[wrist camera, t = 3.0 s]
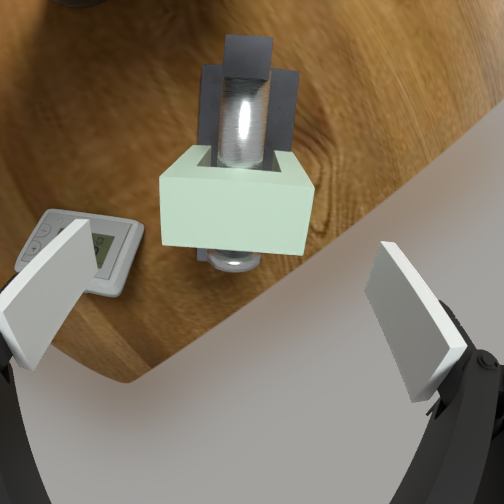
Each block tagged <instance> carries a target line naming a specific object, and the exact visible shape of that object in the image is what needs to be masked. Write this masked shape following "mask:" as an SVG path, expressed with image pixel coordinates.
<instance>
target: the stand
mask: <svg viewBox="0 0 504 504" xmlns="http://www.w3.org/2000/svg"><path fill="white" fill-rule="evenodd" d="M272 45H273V38H272V37H262V36H249V35H229V34H226V38H225V49H224V60H223V65H211V64H203V67H202V80H201V94H200V111H199V130H198V145H205V146H211V166H210V167H220V168H235V169H249V170H261V171H272V165H273V156H274V150H275V151H285V152H291V144H292V135H293V127H294V118H295V109H296V100H297V91H298V82H299V71H292V70H284V69H275V68H270V66H271V55H272ZM260 255H261V252H249V251H236V250H223V249H209V248H207V261H208V263H209V264H210V265H212V266H213V267H215V268H216V269H219V270H222V271H226V272H245V271H249V270H251V269H253V268H255V267H256V266H257V265H258V264H259V262H260Z"/></svg>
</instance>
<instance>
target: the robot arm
mask: <svg viewBox="0 0 504 504" xmlns="http://www.w3.org/2000/svg"><path fill="white" fill-rule="evenodd" d="M52 1H54V2H56V3H58V4H61V5H64V6H67V7H72V8H83V7H89V6H93V5H96V4H99V3H101V2H104V1H106V0H52ZM97 272H98V267H97V262H96V257H95V252H94V246H93V240H92V234H91V228H90V221H89V219H75V220H74V221H73V222H72V223H71V224H70V225H69V226H67V227H66V228H65V229H64V230H63V231H62V232H61V233H60V234H59V235H58V236H56V237H55V238H54V239H53V240H52V241H51V242H50V243H49V244H48V245H47V246H46V247H45V248H44V249H43V250H42V251H41V252H40V253H39V254H38V255H37V256H36V257H35V258H34V259H33V260H32V261H31V262H30V263H29V264H28V265H27V266H26V267H25V268H24V269H23V270H21V271H20V272H18V273H16V274H15V275H14V276H13V277H12V278H11V279H10V280H9V281H8V282H7V284H6V285H4V286H3V287H2V288H1V291H0V504H51V501H50V499H49V497H48V495H47V492H46V490H45V487H44V485H43V482H42V480H41V477H40V474H39V472H38V469H37V466H36V463H35V460H34V457H33V454H32V451H31V448H30V445H29V442H28V438H27V435H26V431H25V427H24V424H23V420H22V415H21V411H20V407H19V402H18V397H17V393H16V387H15V382H14V376H13V369H12V367H11V364H10V363H9V360H10V359H11V357H12V356H13V357H14V358H15V360H16V362H17V364H18V365H19V366H20V367H22V368H25V369H28V370H31V371H33V372H34V370H35V368H36V367H37V365H38V363H39V361H40V360H41V358H42V356H43V355H44V353H45V351H46V349H47V348H48V346H49V344H50V343H51V341H52V339H53V338H54V336H55V335H56V333H57V331H58V330H59V328H60V327H61V325H62V323H63V322H64V320H65V319H66V317H67V316H68V314H69V313H70V311H71V309H72V308H73V306H74V305H75V303H76V302H77V300H78V299H79V297H80V296H81V295H82V293H83V292H84V290H85V289H86V287H87V286H88V284H89V283H90V282H91V280H92V279H93V277H94V276H95V275H96V273H97ZM365 293H366V295H367V297H368V300H369V302H370V304H371V306H372V308H373V310H374V313H375V315H376V317H377V319H378V321H379V324H380V326H381V328H382V330H383V332H384V335H385V337H386V339H387V342H388V344H389V346H390V349H391V351H392V354H393V356H394V358H395V361H396V363H397V366H398V368H399V371H400V373H401V376H402V378H403V381H404V383H405V386H406V388H407V391H408V394H409V396H410V399H411V402H412V403H414V402H420V401H426V400H429V399H430V398H431V397H432V395H433V394H434V392H435V391H436V390H438V392H439V394H440V398H439V399H438V400H437V401H436V403H435V404H434V405H433V406H432V407H431V408H430V410H429V411H428V412H427V414H426V415H427V416H428V415H429V414H430V413H431V412H432V415H431V417H430V420H429V423H428V425H427V428H426V430H425V433H424V435H423V437H422V440H421V442H420V445H419V447H418V449H417V451H416V453H415V456H414V458H413V460H412V462H411V464H410V466H409V468H408V470H407V472H406V474H405V476H404V478H403V480H402V482H401V484H400V486H399V487H398V489H397V491H396V493H395V495H394V497H393V498H392V500H391V502H390V503H389V504H504V365H499V363H498V361H497V359H496V358H495V357H494V356H493V355H492V354H491V353H489V352H488V351H485V350H477V349H476V348H475V346H474V344H473V343H472V341H471V340H470V338H469V336H468V335H467V333H466V332H465V330H464V329H463V327H462V326H460V323H459V321H458V320H457V319H455V315H454V314H453V312H452V311H451V310H450V308H449V307H448V306H446V305H445V304H444V303H443V302H442V301H440V300H437V299H436V297H435V296H434V294H433V293H432V291H431V290H430V289H429V287H428V286H427V285H426V283H425V282H424V281H423V279H422V278H421V277H420V275H419V274H418V272H417V271H416V270H415V268H414V267H413V266H412V264H411V263H410V262H409V261H408V259H407V258H406V257H405V255H404V254H403V253H402V251H401V250H400V249H399V248H398V247H397V245H396V244H395V243H393V242H384V241H380V244H379V247H378V250H377V254H376V257H375V261H374V263H373V267H372V270H371V273H370V276H369V280H368V282H367V286H366V288H365Z"/></svg>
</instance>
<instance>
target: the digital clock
mask: <svg viewBox="0 0 504 504" xmlns="http://www.w3.org/2000/svg"><path fill="white" fill-rule="evenodd" d="M75 219H89V221H90V228H91V234H92V240H93V246H94V252H95V257H96V262H97V267H98V272H97V273H96V275H95V276H94V277H93V279H92V280H91V282H90V283H89V284H88V286H87V287H86V289H85V290H84V293H92V294H97V295H101V296H106V297H118V296H119V295H120V294H121V293H122V290H123V288H124V285H125V282H126V280H127V277H128V274H129V271H130V268H131V266H132V263H133V260H134V257H135V255H136V252H137V249H138V247H139V244H140V242H141V239H142V236H143V233H144V225H143V224H141V223H140V222H138V221H135V220H131V219H126V218H119V217H112V216H105V215H97V214H90V213H83V212H76V211H68V210H60V209H48V210H47V211H46V212H45V213H44V214H43V216H42V217H41V219H40V221H39V222H38V224H37V225H36V227H35V229H34V230H33V232H32V234H31V235H30V237H29V239H28V240H27V242H26V244H25V245H24V247H23V249H22V251H21V253H20V254H19V256H18V258H17V261H16V264H15V271H16V272H17V273H18V272H20V271H21V270H23V269H24V268H25V267H26V266H27V265H28V264H29V263H30V262H31V261H32V260H33V259H34V258H35V257H36V256H37V255H38V254H39V253H40V252H41V251H42V250H43V249H44V248H45V247H46V246H47V245H48V244H49V243H50V242H51V241H52V240H53V239H54V238H55V237H56V236H58V235H59V234H60V233H61V232H62V231H63V230H64V229H65V228H66V227H67V226H69V225H70V224H71V223H72V222H73V221H74V220H75Z"/></svg>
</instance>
